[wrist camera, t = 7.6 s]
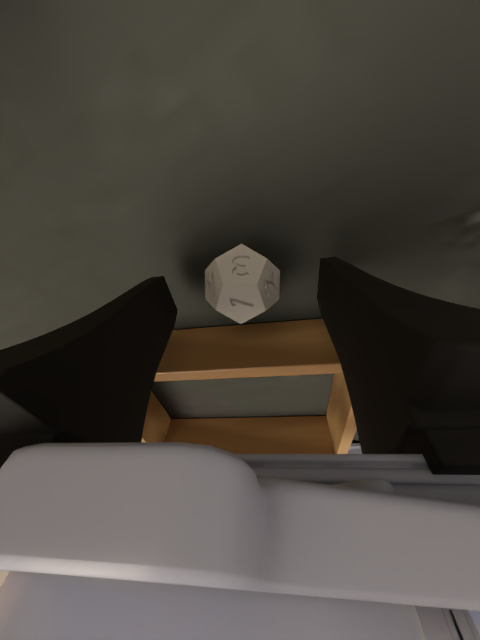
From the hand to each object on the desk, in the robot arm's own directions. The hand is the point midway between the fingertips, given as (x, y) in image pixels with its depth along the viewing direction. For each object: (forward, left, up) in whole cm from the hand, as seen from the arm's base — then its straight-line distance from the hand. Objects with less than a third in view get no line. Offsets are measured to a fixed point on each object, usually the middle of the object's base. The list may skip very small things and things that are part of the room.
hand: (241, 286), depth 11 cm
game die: (0, 0, -2) cm, 2 cm away
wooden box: (-10, +2, -2) cm, 10 cm away
